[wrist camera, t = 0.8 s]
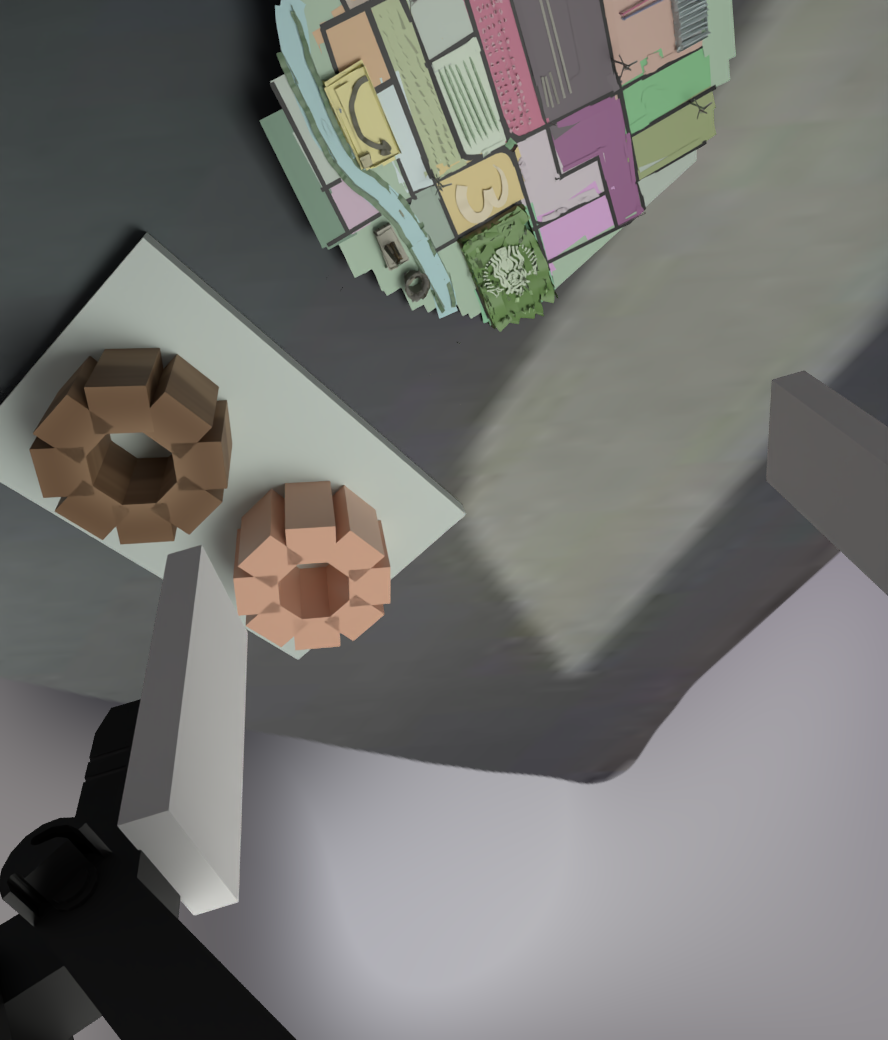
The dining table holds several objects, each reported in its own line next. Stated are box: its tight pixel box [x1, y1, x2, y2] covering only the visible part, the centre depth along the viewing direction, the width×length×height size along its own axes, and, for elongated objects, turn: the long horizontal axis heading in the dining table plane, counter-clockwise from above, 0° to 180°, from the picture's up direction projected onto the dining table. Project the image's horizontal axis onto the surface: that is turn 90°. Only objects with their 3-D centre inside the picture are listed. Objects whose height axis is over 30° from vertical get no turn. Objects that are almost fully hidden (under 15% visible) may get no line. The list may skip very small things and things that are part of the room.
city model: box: [259, 0, 736, 344], centre depth 35 cm, size 25×23×6 cm
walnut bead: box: [29, 348, 232, 545], centre depth 39 cm, size 9×9×5 cm
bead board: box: [0, 232, 466, 660], centre depth 45 cm, size 24×16×1 cm, turn 42°
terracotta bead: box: [233, 481, 391, 650], centre depth 45 cm, size 9×9×5 cm
